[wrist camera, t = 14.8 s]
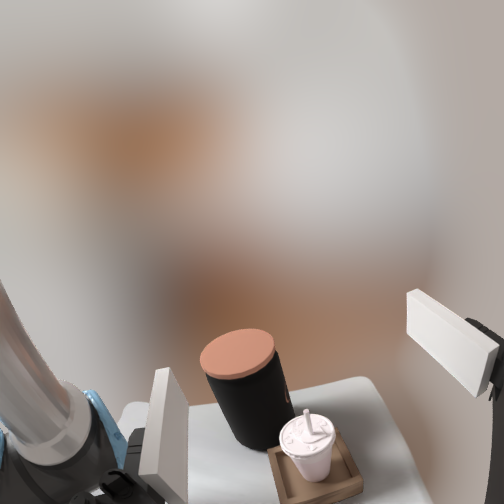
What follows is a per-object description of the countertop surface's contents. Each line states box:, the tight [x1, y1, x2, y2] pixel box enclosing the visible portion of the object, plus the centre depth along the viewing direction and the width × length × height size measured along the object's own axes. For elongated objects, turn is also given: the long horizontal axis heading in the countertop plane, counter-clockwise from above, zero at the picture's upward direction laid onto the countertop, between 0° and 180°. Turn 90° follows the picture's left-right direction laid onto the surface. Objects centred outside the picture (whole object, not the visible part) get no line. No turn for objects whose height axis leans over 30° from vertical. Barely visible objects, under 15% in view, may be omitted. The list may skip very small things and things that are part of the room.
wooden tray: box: [267, 427, 363, 504], centre depth 33 cm, size 10×10×4 cm
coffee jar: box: [200, 329, 295, 450], centre depth 43 cm, size 11×11×18 cm
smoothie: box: [279, 409, 336, 482], centre depth 30 cm, size 6×6×14 cm
